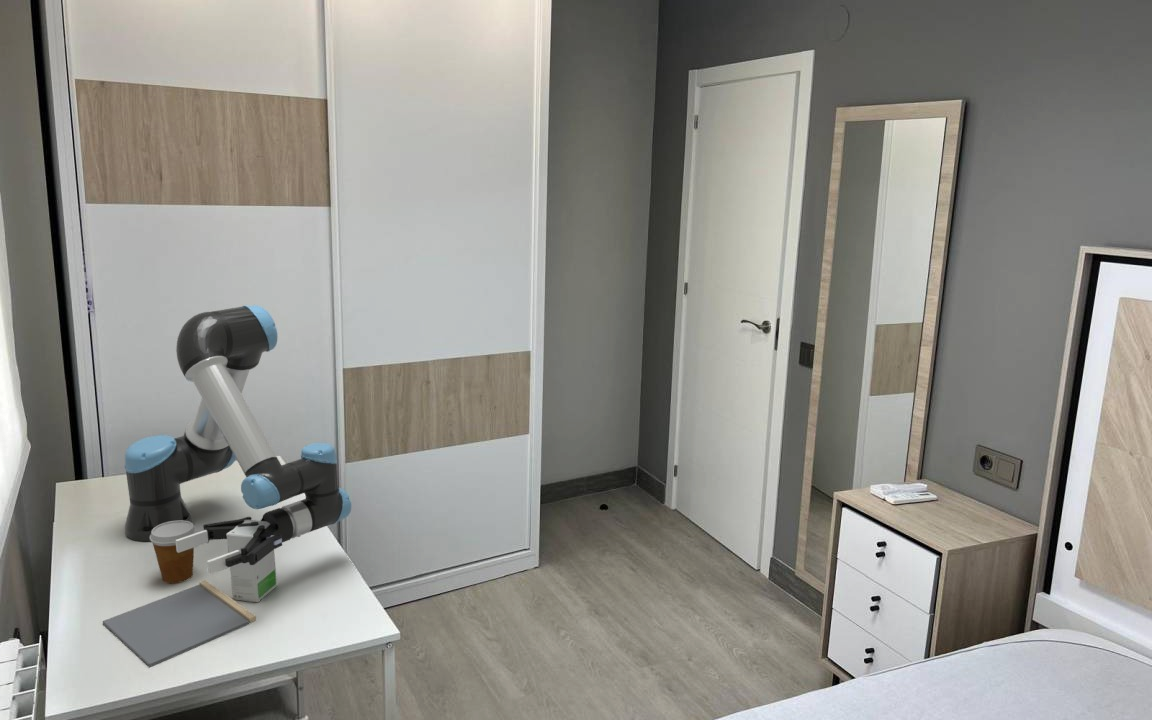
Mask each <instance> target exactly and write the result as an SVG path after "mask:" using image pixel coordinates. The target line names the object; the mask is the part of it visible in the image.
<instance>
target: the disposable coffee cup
mask: <svg viewBox="0 0 1152 720" xmlns="http://www.w3.org/2000/svg"><path fill="white" fill-rule="evenodd" d="M195 533H197V528H196V527H195V526H194V523H193V522H192V521H191V522H189V521H184V520H177V521H170V522H166V523H162V524H160V525H158V526H156V527H155V528H153V529H152V531H151V535H150V540H151V541H150V542H151V543H152V547H153V549H154V552H155V557H156V561H157V564H158V568H159V572H160V574H161V579H162V581H163V582H164V583H166V584H179V583H183V582H186V581H188V580H190V579H191V578H192V577H193V575H194V559H195V558H194V557H195V556H194V553H195V547H194V548H191V549H188V550H185V551H182V552H180V553H178V552H177V550H176V541H175V540H177V539H180V538H183V537H186V536H189V535H192V534H195Z"/></svg>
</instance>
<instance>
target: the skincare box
mask: <svg viewBox="0 0 1152 720" xmlns="http://www.w3.org/2000/svg"><path fill="white" fill-rule="evenodd" d="M251 522H258V524H259V525H257V526H245V527H238V526H236V527H235V528H234V529H233V530H231V531H230V532H228V533H227V534H226V536H227V539H226V541H227V550H228V553H230V552H233V551H236V550H239V551H240V554H241V549H242V548H244V547H245V546H246V545H247V544H248V542H249V541H250V540H251V539H252V538H253V534H254V533H255V532H256V530H257V528H258V527H259V526H261V525H264V526H265V529H266V528H267V527H268V526H270V523H268V522H266V521H260V520H255V519H254V520H253V519H251V520H247V521H245V522H244V523H251ZM242 524H243V523H242ZM228 553H227V554H228ZM275 555H276V554H275V549H274V550H273V551H271V552H270V553H269V554H267V555H266V556H265V557H264V558H262V559H261V560H260V561H258V562H257V563H256V564H254V565H250V564H249V562H247V563H239V564H237V565H234V566H231V567H229V573H230V574H229V575H230V584H231V585H230V586H231V594H232V595H231V596H232V599H233V600H234V601H243V602H250V603H251V602H252V603H258V602H260V601H261V600H262V599H263V598H264V597H266V595H268V594H269V593H270V592H271V591H273V590H274V589H275V588H276V587H277V586H278V580H277V568H276V558H275V557H276V556H275Z"/></svg>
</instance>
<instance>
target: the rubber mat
mask: <svg viewBox="0 0 1152 720" xmlns="http://www.w3.org/2000/svg"><path fill="white" fill-rule="evenodd" d="M255 622H257V617H256V615H255V614H254V613H252V612H251V611H249V610H248V609H246V608H245V607H244V606H243V605H241V604H240V603H238V602H237V601H236V600H235V599H233V598H231V597H230V596H228V595H227V594H226V593H224V592H222V591H221V590H220V589H218V588H217V587H216V586H215V585H213V584H211V582H208V581H207V580H206V579H203V580H201V581H199V584H197V585H194V586H192V587H191V586H190V587H189V588H187V589H184V590H181V591H178V592H175V593H173V594H171V595H168V596H165V597H163V598H160V599H158V600H155V601H152V602H149V603H147V604H144V605H142V606H138V607H136V608H134V609H131V610H128V611H126V612H122V613H120V614H118V615H115V616H113V617H109V618H107V619H105V620H103V621H102V624H103V625H104V626H105V627H106V628H107V629H108V630H109V631H110V632H111V633H113V635H114V636H116V637H117V638H118V640H120V641H121V642H122V643H123V644H124V645H125V646H126V647H127V648H129V649H130V650H131V651H132V652H133V653H134V654H135V655H136V656H137V657H138V658H139V659H140V660H141V661H142V662H144V664H146V665H147V666H148V667H149V668H150V667H154V666H155V665H157V664H160V663H162V662H165V661H167V660H170V659H171V658H174V657H176V656H178V655H182V654H183V653H185V652H187V651H190V650H193V649H194V648H197V647H200V646H202V645H204V644H206V643H208V642H210V641H213V640H216V639H217V638H221V637H222V636H225V635H226V634H227V635H228V634H230V633H231V632H234V631H237V630H239V629H240V628H243V627H245V626H247V625H249V624H252V623H255Z"/></svg>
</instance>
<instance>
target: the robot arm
mask: <svg viewBox="0 0 1152 720" xmlns="http://www.w3.org/2000/svg"><path fill="white" fill-rule="evenodd" d="M178 333H179V334H178V336H177V341H176V347H175V351H176V358H177V363H178V366H179V368H180V371H181V373H182V375H183V376H184V378H185V379H186V381H188V382H192V383H193V385H194V386H195V388H196V389H197V391H198V393H199V395H200V397H201V399H200V403H199V405H198V409H197V413H196V416H195V419H192V420H191V421H189V422H188V424H187V425H186V427H185V430H184V433H183V435H182V436H178V437H173V436H172V435H168V434H159V435H158V434H157V435H156V436H154V435H152V436H148V437H145V438H144V437H143V438H141V439H139V440H137V441H135V442H133V443H132V444H130V446H128V448H127V449H126V451H125V453H124V470H125V474H126V480H127V481H126V483H127V489H128V496H129V508H128V511H127V517H126V520H125V524H124V529H125V536H126V538H128V539H131V540H133V541H137V542H139V541H140V542H151V540H150V535H151V531H152V529H153V528H155V527H156V526H158V525H160V524H162V523H166V522H170V521H177V520H184V521H189V522H191V523H192V516H191V512H190V511H189V509H188V507H187V505H186V503H185V502H184V499H183V498H182V492H181V484H184V483H186V482H190V481H193V480H196V479H199V478H203V477H207V476H209V475H213V474H217V473H220V472H222V471H224V470H225V469H228V468H229V467H231V466H232V465H233V464H234V463H235V461H237V463H238V464H239V466H240V468H241V471H242V472H243V474H244V476H245V477H244V479H243V480H242V482H241V484H240V492H241V493H242V498H243V501H244V502H245V504H246V505H247V506H249V508H251V509H254V510H261V509H265V508H268V507H272V506H275V505H277V504H279V503H281V502H284V501H287V500H289V499H292V498H294V497H297V496H301V495H302V494H305V498H303V499H302V500H298V501H295V502H292V503H289V504H286V505H283V506H282V507H277V508H274V509H272V510H270V511H266V512H265V513H264V514H263V516H262V517H261V519H260V520H259V521H266V522H268V523H270V526H268V527H267V528H266V529H265V526H264V525H261V526H259V527H258V528H257V530H256V532H255V533H254V534H253V538H252V539H251V540H250V541H249V542H248V544H247V545H246V546H245V547H244V548H242V549H241V554H240V551H239V550H236V551H233V552H230V553H225V554H223V555H222V554H221V555H220V556H219V555H218V556H217V557H214V558H211V559H209V560H206V564H207V566H206V567H207V573H208V574H209V575H213V574H215V573H217V572H221V571H223V570H226V569H228V568H229V569H230V567H231V566H234V565H237V564H239V563H247V562H249V564H250V565H254V564H256V563H257V562H258V561H260V560H261V559H262V558H264V557H265V556H266V555H267V554H269V553H270V552H271V551H273V550H274V551H275V550H276V549H278V548H280V547H282V546H283V543H286V542H287V541H290V540H291V539H295V538H300V537H301V536H303V535H305V534H309V533H310V532H314V531H317V530H319V529H322V528H325V527H328V526H331V525H335V524H336V523H338V522H340V521H342V520H344V519H346V518H348V517H349V515H350V514H351V511H352V501H351V499H350V495H349V493H348V492H347V491H346V490H345V489H343V488H341V487H339V484H338V483H339V482H338V460H337V453H336V449H335V448H336V447H334V446H333V445H332V444H331V443H327V442H315V443H310V444H307V445H305V446H304V447H302V448H301V451H300V452H301V453H300V458H298V459H295V460H293V461H289V462H287V463H284V464H282V463H281V462H280V460H279V458H278V456H277V455H276V453H275V451H274V450H273V447H272V446H271V444H270V442H269V441H268V439H267V437H266V435H265V433H264V432H263V430H262V428H261V426H260V424H259V423H258V421H257V419H256V418H255V416H254V414H253V412H252V411H251V409H250V407H249V405H248V403H247V401H246V400H245V398H244V396H243V394H242V393H243V390H244V388H245V384H246V382H247V378H248V375H249V372H250V370H253V369H255V368H256V367H257V366H258V365H259V363H260V361H261V357H262V355H263V353H264V352H266V353H268V352H271V351H272V350H274V349H275V348H276V346H277V343H278V329H277V326H276V323H275V320H274V318H273V317H272V315H271V314H270V312H269V311H268V310H267V309H265V308H264V307H263V306H261V305H255V304H253V305H246V304H245V305H242V306H237V307H232V308H225V309H219V310H214V311H204V312H200V313H198V314H195V315H193V316H192V317H191V318H189V319H188V320H187V321H186V322H185V323H184V325H183V326H182V327H181V329H180V331H179V332H178ZM247 520H252V517H251V516H247V517H242V518H239V519H232V520H226V521H225V520H224V521H219V522H211V523H205V524H203V530H201V531H198V532H196V533H195V534H192V535H189V536H186V537H183V538H180V539H177V540H175V541H176V550H177V552H178V553H180V552H182V551H185V550H188V549H191V548H194V549H195V548H197V547H199V546H202V545H205V544H209V542H210V541H215V540H217V541H218V540H227V536H226V534H227V533H228V532H230V531H231V530H233V529H234V528H235V527H236V526H238V527H245V526H257V525H259V524H258V522H251V523H244V522H245V521H247ZM242 523H243V524H242Z"/></svg>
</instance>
